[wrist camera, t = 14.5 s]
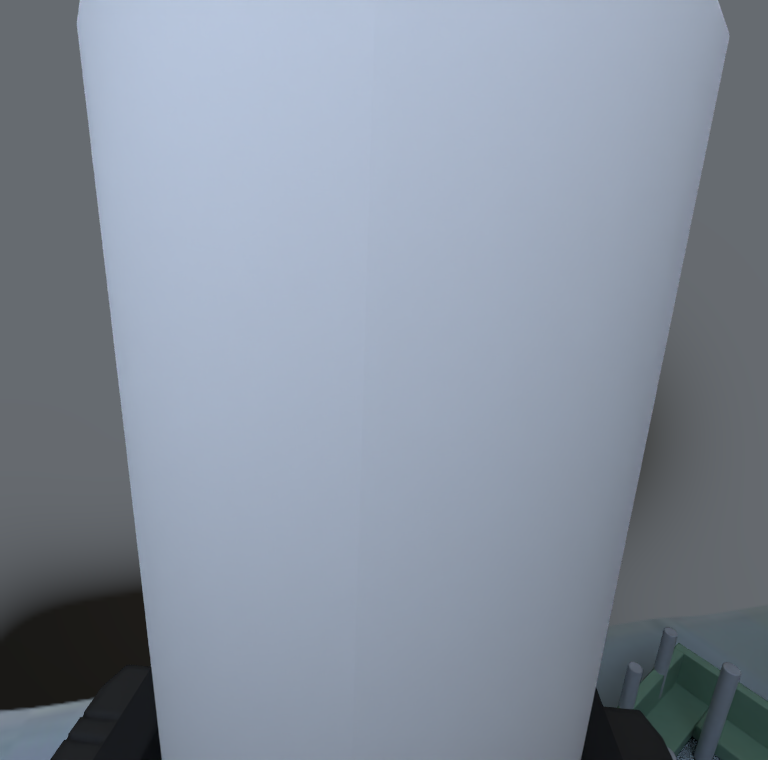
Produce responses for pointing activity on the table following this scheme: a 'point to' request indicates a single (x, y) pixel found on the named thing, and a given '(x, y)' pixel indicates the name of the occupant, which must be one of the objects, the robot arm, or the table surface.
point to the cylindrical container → (389, 351)
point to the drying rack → (698, 704)
